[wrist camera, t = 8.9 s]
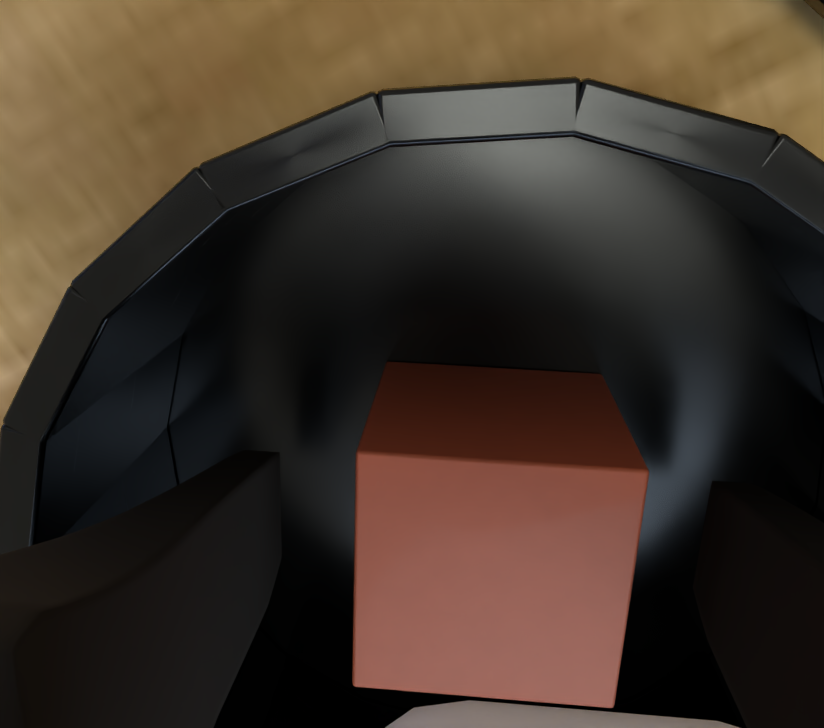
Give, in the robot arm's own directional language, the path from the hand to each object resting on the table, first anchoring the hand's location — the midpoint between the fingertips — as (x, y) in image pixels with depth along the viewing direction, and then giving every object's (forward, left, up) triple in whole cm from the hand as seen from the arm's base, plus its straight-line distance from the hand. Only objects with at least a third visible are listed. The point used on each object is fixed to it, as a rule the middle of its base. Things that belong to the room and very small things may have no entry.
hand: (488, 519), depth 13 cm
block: (0, 0, -2) cm, 2 cm away
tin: (0, 0, -2) cm, 2 cm away
